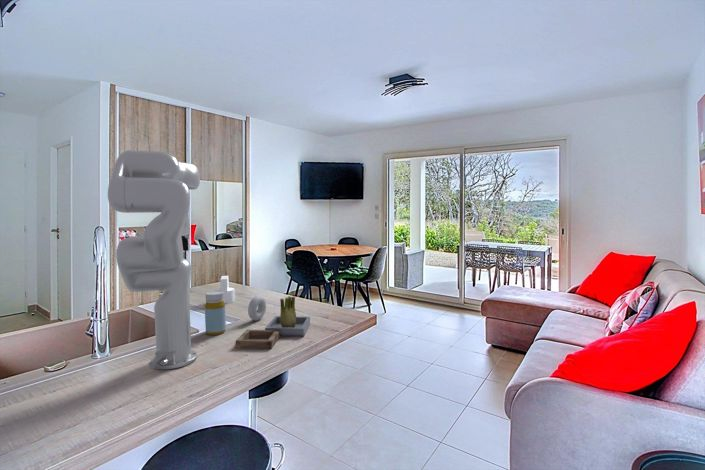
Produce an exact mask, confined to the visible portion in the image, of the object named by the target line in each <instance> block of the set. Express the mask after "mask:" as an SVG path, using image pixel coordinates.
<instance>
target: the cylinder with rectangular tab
mask: <svg viewBox="0 0 705 470" xmlns="http://www.w3.org/2000/svg"><path fill="white" fill-rule="evenodd" d="M229 277H230V276H229V275H221V277H220V279H219V281H220V288H216V289H214V291H223V293H224V300H223V301H224V303H228V304H230V303H229V302H232V303H234V302H235V301H236V295H235V294H236V292H235V288H234V287H230V285H229V284H230V283H229V280H230V279H229ZM234 300H235V301H234ZM233 301H234V302H233Z"/></svg>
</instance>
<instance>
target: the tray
mask: <svg viewBox="0 0 705 470" xmlns="http://www.w3.org/2000/svg"><path fill="white" fill-rule="evenodd" d="M310 325H311V316H296V325H295V327H294V328H290V327H282V326H281V321H280V316H279V315H278V316H276V315H275V316H274V317H273V318H272V319H271V321H269V323H268V324H266V326H265V327H264V330H280V337H286V338H287V337H292V338H293V337H294V338H299V337H300V338H302V337H303V338H305V335H306V333H307V331H308V329H309V328H310Z"/></svg>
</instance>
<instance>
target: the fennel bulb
mask: <svg viewBox="0 0 705 470" xmlns="http://www.w3.org/2000/svg"><path fill="white" fill-rule="evenodd" d="M284 298H285V299H284ZM284 298H280V313H279V314H280V321H281V326H282V327H290V328H294V327H295V325H296V317H297V313H296V307H295V305H296V296H287V297H284Z"/></svg>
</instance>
